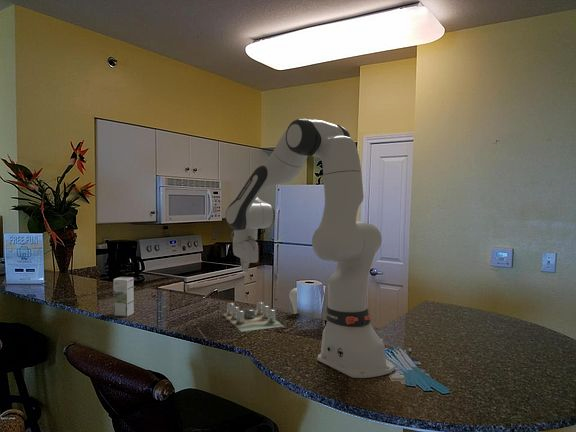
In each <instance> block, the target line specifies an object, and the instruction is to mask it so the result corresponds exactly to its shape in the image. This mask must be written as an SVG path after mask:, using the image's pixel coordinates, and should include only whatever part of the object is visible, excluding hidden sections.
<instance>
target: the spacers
mask: <svg viewBox="0 0 576 432" xmlns="http://www.w3.org/2000/svg"><path fill="white" fill-rule="evenodd" d="M243 310H244V309H243ZM243 310H242V309H240V306H238V305H237V306H236V305H235V302H227V304H226V313H227V316H231V320H236V324H238V325H242V324H244V311H243ZM256 310H257V315H262V319H268V323H271V324H273V323H275V320H277V319H276V315H277V314H276V311H277V310H276V309H273V308H270V305H265V302H264V301H257V302H256Z"/></svg>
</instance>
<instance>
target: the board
mask: <svg viewBox="0 0 576 432" xmlns="http://www.w3.org/2000/svg"><path fill="white" fill-rule="evenodd" d="M222 315H223V317H225V318H226V320H228V321H229V322H230V323H231V324H232V325H233V326H234V327H235V328H236V329H237V330H239V331H240V333H241V332H250V331H258V330H265V329H273V328H282V327H285V325H284V324H282V323H281V322H279V321H278V320H277V319H275V323H273V324H271V323H268V319H262V315H257V309H255V318H254V319H244V324H242V325H238V324H236V320H231V316H227V312H226V313H222Z"/></svg>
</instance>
